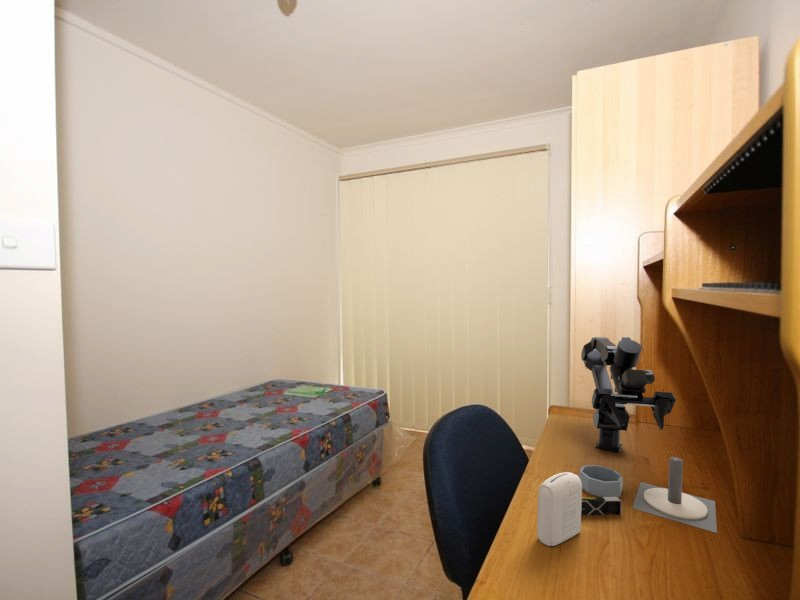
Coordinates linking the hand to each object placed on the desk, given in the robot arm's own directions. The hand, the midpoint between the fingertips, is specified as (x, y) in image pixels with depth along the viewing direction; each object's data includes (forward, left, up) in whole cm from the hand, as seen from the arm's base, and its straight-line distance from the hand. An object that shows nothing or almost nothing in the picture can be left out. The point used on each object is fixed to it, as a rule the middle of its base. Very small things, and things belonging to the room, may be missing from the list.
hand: (641, 427), depth 100 cm
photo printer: (+32, -11, -16) cm, 37 cm away
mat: (+5, +7, -15) cm, 18 cm away
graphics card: (+19, -7, -16) cm, 26 cm away
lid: (+5, +7, -15) cm, 17 cm away
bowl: (+7, -8, -15) cm, 18 cm away
